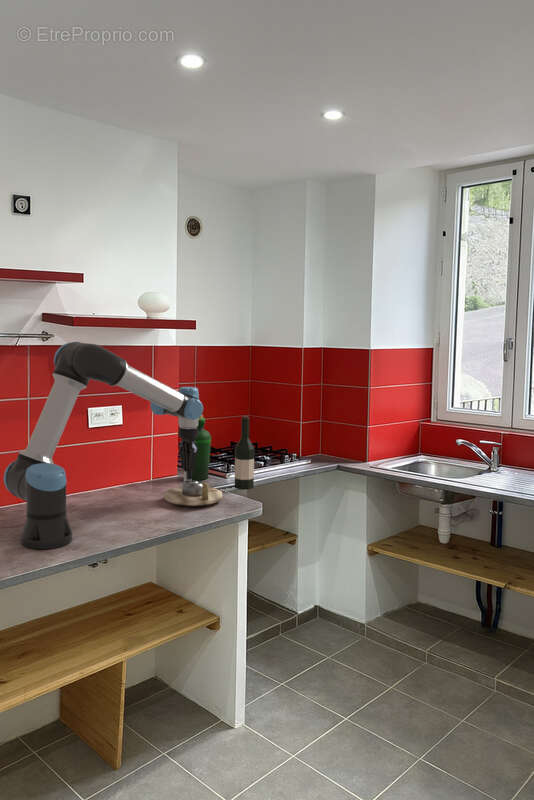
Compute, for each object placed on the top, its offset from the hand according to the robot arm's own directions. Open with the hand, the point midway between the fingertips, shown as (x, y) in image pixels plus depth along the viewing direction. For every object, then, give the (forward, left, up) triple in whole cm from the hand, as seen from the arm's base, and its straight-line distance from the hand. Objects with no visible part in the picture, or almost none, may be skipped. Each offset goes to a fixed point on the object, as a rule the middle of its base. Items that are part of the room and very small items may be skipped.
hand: (187, 486), depth 255 cm
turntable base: (0, -5, -4) cm, 7 cm away
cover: (0, -5, -1) cm, 5 cm away
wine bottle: (+28, +4, -5) cm, 29 cm away
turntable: (0, -5, -3) cm, 6 cm away
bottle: (+18, +26, -5) cm, 32 cm away
